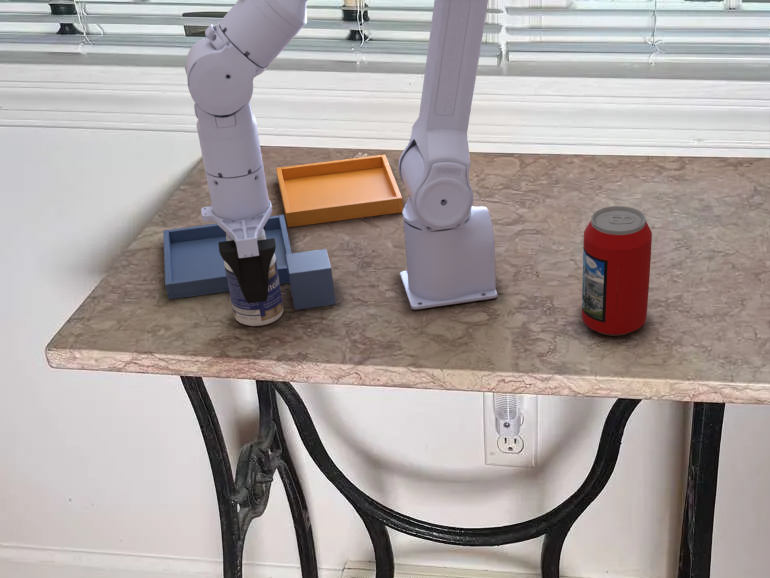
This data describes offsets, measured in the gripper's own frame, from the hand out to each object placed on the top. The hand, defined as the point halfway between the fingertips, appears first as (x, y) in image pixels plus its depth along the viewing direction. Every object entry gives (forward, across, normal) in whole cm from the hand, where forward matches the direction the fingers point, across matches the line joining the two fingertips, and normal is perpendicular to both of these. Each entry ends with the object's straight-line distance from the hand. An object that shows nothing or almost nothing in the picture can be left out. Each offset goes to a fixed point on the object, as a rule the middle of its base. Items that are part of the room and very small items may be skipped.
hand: (254, 286), depth 126 cm
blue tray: (+3, -12, -2) cm, 13 cm away
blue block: (+3, -2, +6) cm, 7 cm away
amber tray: (+3, -26, +12) cm, 29 cm away
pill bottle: (+4, 0, 0) cm, 4 cm away
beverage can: (+4, +12, +36) cm, 38 cm away
